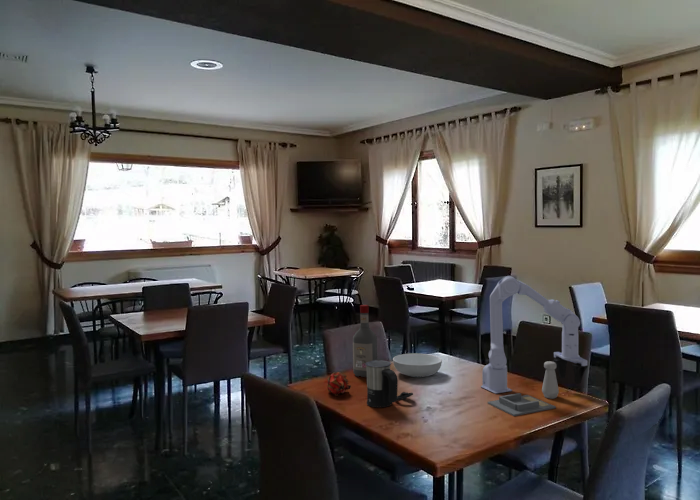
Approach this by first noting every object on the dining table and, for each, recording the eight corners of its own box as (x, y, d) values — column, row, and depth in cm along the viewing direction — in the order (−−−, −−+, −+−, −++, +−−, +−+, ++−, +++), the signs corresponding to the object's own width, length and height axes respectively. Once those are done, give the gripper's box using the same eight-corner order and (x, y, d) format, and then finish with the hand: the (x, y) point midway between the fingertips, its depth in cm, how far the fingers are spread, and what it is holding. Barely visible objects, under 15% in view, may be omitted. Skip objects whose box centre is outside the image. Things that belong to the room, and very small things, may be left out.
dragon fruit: (335, 391, 209) (343, 405, 197) (318, 381, 206) (325, 395, 195) (348, 374, 209) (356, 387, 198) (331, 364, 206) (339, 376, 195)
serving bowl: (445, 381, 215) (445, 364, 215) (394, 382, 215) (394, 365, 215) (438, 367, 236) (437, 352, 235) (391, 368, 236) (391, 353, 236)
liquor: (371, 378, 221) (369, 307, 220) (351, 375, 225) (350, 306, 224) (379, 372, 229) (378, 304, 228) (360, 370, 233) (358, 303, 232)
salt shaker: (560, 399, 190) (560, 364, 189) (543, 399, 191) (543, 363, 190) (557, 394, 195) (557, 360, 195) (540, 394, 196) (540, 359, 196)
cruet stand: (487, 403, 187) (487, 396, 187) (527, 396, 194) (527, 389, 194) (513, 416, 174) (513, 408, 174) (555, 408, 181) (555, 400, 181)
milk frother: (361, 404, 188) (360, 364, 188) (385, 393, 201) (384, 355, 200) (394, 412, 180) (394, 370, 179) (417, 400, 192) (417, 360, 192)
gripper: (593, 347, 191) (593, 384, 191) (563, 339, 204) (563, 374, 205) (579, 349, 188) (579, 386, 189) (549, 341, 201) (549, 376, 202)
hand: (570, 380), depth 197 cm, fingers open, 7 cm apart
